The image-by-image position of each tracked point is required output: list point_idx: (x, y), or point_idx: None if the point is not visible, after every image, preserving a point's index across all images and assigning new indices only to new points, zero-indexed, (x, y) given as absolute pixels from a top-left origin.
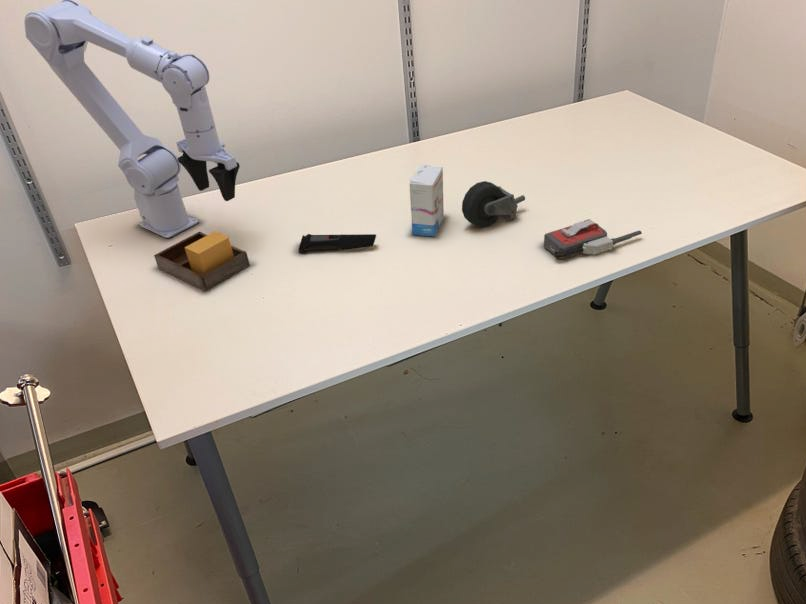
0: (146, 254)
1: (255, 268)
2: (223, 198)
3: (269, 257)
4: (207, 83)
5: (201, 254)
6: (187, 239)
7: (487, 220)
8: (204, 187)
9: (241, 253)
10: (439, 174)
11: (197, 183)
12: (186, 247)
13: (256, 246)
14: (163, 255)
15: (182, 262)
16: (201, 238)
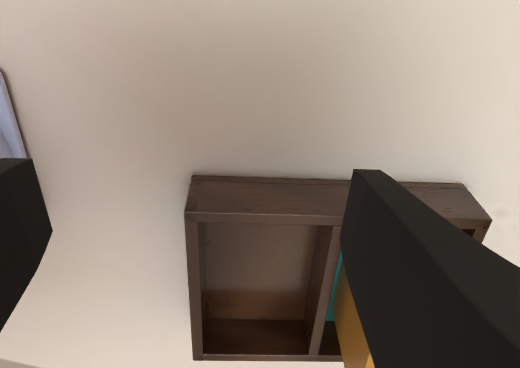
0: (91, 295)
1: (494, 185)
2: (342, 255)
3: (512, 107)
4: None
5: None
6: (199, 267)
7: None
8: (37, 209)
9: (477, 235)
10: None
11: (19, 294)
12: None
13: (407, 72)
14: (203, 334)
15: (244, 284)
16: (369, 358)
